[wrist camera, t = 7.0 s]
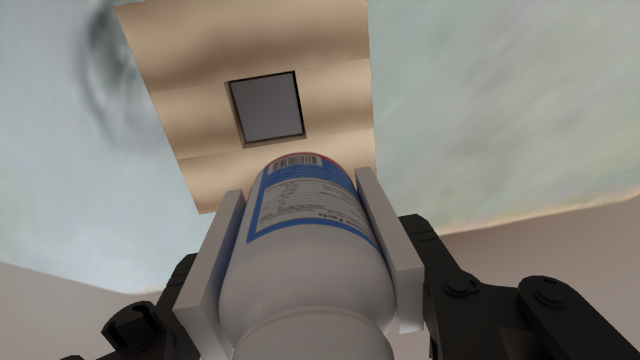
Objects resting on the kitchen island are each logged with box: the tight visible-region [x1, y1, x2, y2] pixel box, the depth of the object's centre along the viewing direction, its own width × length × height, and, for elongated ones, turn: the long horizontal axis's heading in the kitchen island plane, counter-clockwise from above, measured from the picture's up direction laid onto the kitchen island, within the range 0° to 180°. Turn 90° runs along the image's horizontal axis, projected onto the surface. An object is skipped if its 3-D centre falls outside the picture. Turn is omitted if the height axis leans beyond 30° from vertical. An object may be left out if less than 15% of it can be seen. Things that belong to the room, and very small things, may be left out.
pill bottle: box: [219, 152, 396, 360], centre depth 10 cm, size 6×5×10 cm
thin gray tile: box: [231, 72, 303, 142], centre depth 28 cm, size 6×6×1 cm
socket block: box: [113, 0, 377, 214], centre depth 31 cm, size 20×20×10 cm
